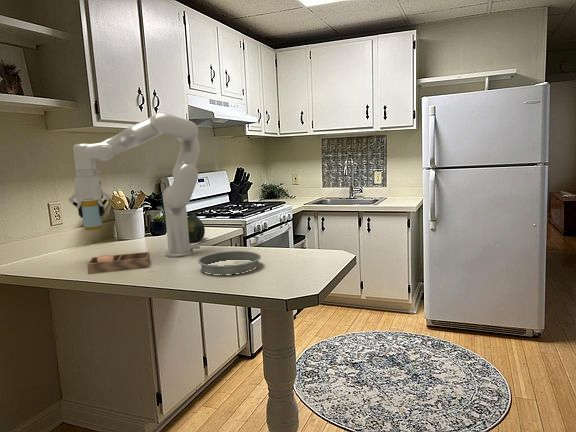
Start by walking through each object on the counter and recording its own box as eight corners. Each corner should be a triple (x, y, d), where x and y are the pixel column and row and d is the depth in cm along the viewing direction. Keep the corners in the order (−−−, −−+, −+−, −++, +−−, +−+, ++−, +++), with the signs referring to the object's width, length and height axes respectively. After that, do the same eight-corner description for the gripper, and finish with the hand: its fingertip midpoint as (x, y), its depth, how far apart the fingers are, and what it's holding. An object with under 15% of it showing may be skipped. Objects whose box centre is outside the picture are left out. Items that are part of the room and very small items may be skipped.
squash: (168, 234, 224) (186, 211, 223) (175, 230, 239) (192, 208, 238) (190, 251, 225) (208, 229, 224) (196, 246, 240) (213, 225, 239)
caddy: (150, 263, 188) (149, 251, 187) (148, 270, 177) (147, 257, 176) (93, 269, 183) (92, 257, 182) (88, 276, 172) (87, 263, 171)
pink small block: (115, 266, 182) (114, 254, 181) (113, 269, 176) (112, 257, 175) (99, 267, 180) (98, 255, 180) (97, 271, 175) (95, 259, 174)
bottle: (90, 230, 181) (86, 194, 179) (80, 229, 185) (76, 194, 183) (105, 227, 187) (101, 192, 185) (95, 226, 191) (91, 192, 188)
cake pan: (245, 279, 159) (244, 267, 158) (186, 275, 167) (185, 264, 166) (271, 262, 181) (270, 251, 181) (218, 259, 190) (217, 249, 189)
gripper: (110, 172, 188) (115, 213, 191) (65, 175, 184) (71, 217, 187) (107, 172, 181) (112, 215, 183) (61, 175, 177) (67, 219, 180)
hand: (91, 216), depth 185 cm, fingers closed on bottle, 7 cm apart
